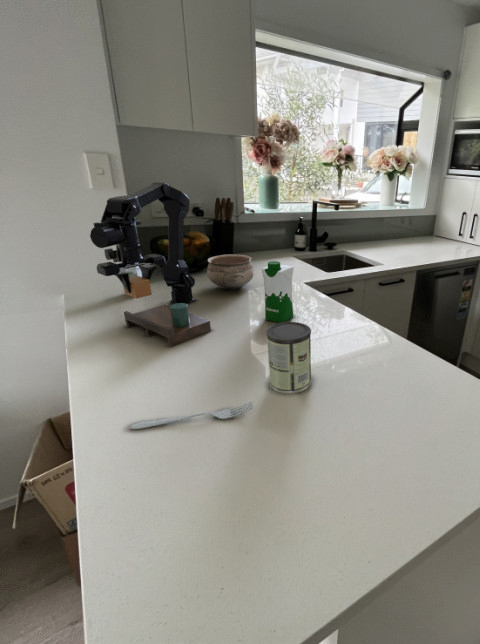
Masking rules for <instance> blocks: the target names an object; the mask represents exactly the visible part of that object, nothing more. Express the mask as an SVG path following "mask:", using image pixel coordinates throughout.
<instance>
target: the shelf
mask: <svg viewBox="0 0 480 644" xmlns="http://www.w3.org/2000/svg"><path fill="white" fill-rule="evenodd" d="M170 306H171V305H169V304H166V303H165V304H161V305H158V306H155V307H151V308H148V309H145V310H141V311H138V312H135V313H133V312H130V311H128V310H126V311H123V315H124V320H125V325H126V327H127V328H130V327H133V326H139V327H142V328H145V329H144V330H145V333H146V336H147V337H152V336H154V335H157V334H158V335H160V336H162V337H165V338H167V343H168V346H169V347H174V346H176V345H180V344H182V343H184V342H187V341H189V340H192V339H194V338H196V337H199V336H202V335H204V334H206V333H209V332H211V331H212V326H211V321H210V320H209V319H206V318H204V317H200V316H198V315H195V314H193V313H190V312H189V318H190V324H189V325H188V326H185V327H174V326H173V325H172V319H171V312H170Z"/></svg>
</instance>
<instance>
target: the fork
mask: <svg viewBox="0 0 480 644" xmlns="http://www.w3.org/2000/svg"><path fill="white" fill-rule="evenodd" d="M252 409H253V401H249V402H247V403H243V404H241V405H238V406H235V407H230V408H226V409H223V410H219V411H204V412H197V413H193V414H187V415H182V416H176V417H169V418H168V417H167V418H162V419H156V420H148V421H141V422H137V423H134V424H132V425H131V426H129V428H130V429H131V430H142V429H147V428H152V427H156V426H160V425H166V424H170V423H174V422H178V421H183V420H187V419H190V418H191V419H192V418H196V417H200V416H205V415H206V416H212V417H215V418H217V419H221V420H227V419H230V418H233V417H236V416H238V415H241V414H243V413H246V412H248V411H250V410H252Z"/></svg>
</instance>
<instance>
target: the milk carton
mask: <svg viewBox="0 0 480 644" xmlns="http://www.w3.org/2000/svg"><path fill="white" fill-rule="evenodd" d="M261 274H262V278H263V291H264V312H265V314H264V315H265V316H264V317H265V318H264V319H265V321H269V322H275V323H277V324H278V323H283V322H288V321H289V320H291V319H292V318H293V317H294V307H293V305H294V304H293V274H294V266H292V265H291V266H290V265H286V264H285V265H284V264H281V262H280V261H277V260H275V261H274V260H273V261H272V260H271V261H267V266H265V267H262V268H261Z"/></svg>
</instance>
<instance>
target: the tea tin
mask: <svg viewBox="0 0 480 644" xmlns="http://www.w3.org/2000/svg"><path fill="white" fill-rule="evenodd" d="M188 305H189V304H188V303H187V304H186V303H173V304H171V305H169V306H170V312H171V319H172V325H173V326H174V327H185V326H188V325H189V324H190V318H189V313H190V311H189V306H188Z"/></svg>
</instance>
